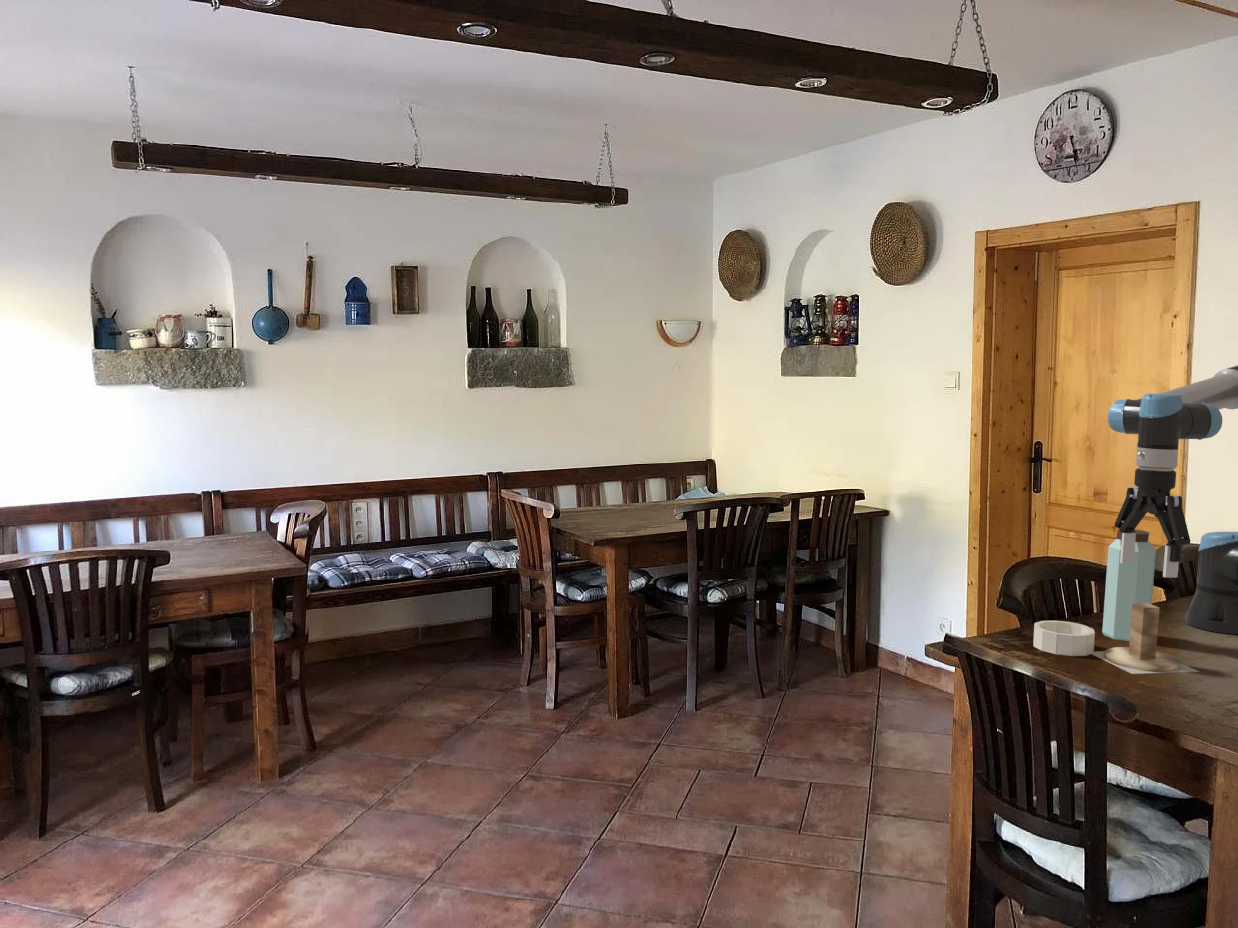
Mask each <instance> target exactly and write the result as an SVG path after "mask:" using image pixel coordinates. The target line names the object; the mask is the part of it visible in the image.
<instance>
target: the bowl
mask: <svg viewBox="0 0 1238 928" xmlns="http://www.w3.org/2000/svg"><path fill="white" fill-rule="evenodd" d="M1095 635H1096V632H1095V629H1094V628H1093V627H1090V626H1087V625H1085V624H1081V623H1077V622H1072V621H1065V620H1063V621H1062V620H1040V621H1038V622H1037V621H1036V622H1034V625H1033V647H1034V648H1036V649H1038V650H1039V651H1042V652H1046V653H1050V654H1053V655H1058V656H1059V655H1060V656H1069V657H1087V656H1089V655H1092V653H1094V652H1095V651H1094V650H1095V637H1096V636H1095Z"/></svg>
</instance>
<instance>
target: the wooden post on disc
mask: <svg viewBox="0 0 1238 928" xmlns="http://www.w3.org/2000/svg"><path fill="white" fill-rule="evenodd" d="M1159 619H1160V607H1158V606H1157V605H1153V604H1152V605H1151V604H1148V603H1140V604H1132V616H1131V629H1130V642H1128V643H1129V645H1128V646H1117V647H1116V646H1115V647H1111V648H1107V649H1106V650H1104V651H1105V658H1106V659H1107V660H1108V661H1110V662H1112V663H1114V664H1117V665H1119V666H1123V667H1127V668H1131V669H1136V670H1143V671H1152V672H1169V671H1175V670H1177V669H1179V667H1180V663H1181V662H1180V659H1178V658H1177V657H1176V656H1173V655H1171V654H1169V653H1165V652H1162V651H1158V650H1157V643H1158V634H1159V633H1158V631H1159V621H1160V620H1159Z"/></svg>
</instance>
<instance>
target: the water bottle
mask: <svg viewBox="0 0 1238 928" xmlns="http://www.w3.org/2000/svg"><path fill="white" fill-rule="evenodd" d="M1135 531H1136V532H1131V533H1136V539H1135V552H1134V563H1120V555H1121V532H1120V529H1119V528H1118V529H1117V532H1116V539H1114V541H1113V542H1112V543H1111V544H1109V545H1108V546H1107V547H1108V550H1107V561H1106V563H1107V564H1106V574H1105V575H1106V576H1105V589H1104V590H1105V592H1104V602H1103V605H1104V606H1103V616H1102V617H1103V619H1102V629H1101V632H1102V634H1103V635H1104V636H1105V637H1108V638H1110V639H1112V640H1117V641H1122V642H1123V641H1124V642H1128V643H1129V642H1130V629H1131V616H1132V604H1140V603H1148V604H1151V605H1153V594H1154V593H1153V591H1154V581H1155V580H1154V579H1155V577H1154V576H1155V567H1156V554H1157V549H1156V547H1155V546H1154V545H1153V544H1152V543H1151V542H1150V540H1149V539H1150V538H1149V536H1150V531H1146V530H1145V531H1144V530H1142V529H1135Z"/></svg>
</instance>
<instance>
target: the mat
mask: <svg viewBox="0 0 1238 928" xmlns="http://www.w3.org/2000/svg"><path fill="white" fill-rule="evenodd" d="M1105 651H1106V650H1102V651H1094V653H1092V654H1091V655H1092V656H1094V657H1096V658H1098V659H1101V660H1103V661H1105V662H1107V663H1109V664H1111V665H1113V666H1115V667H1117V668H1119V669H1121V670H1122V671H1126V672H1127V673H1129V674H1132V675H1138V674H1139V675H1140V674H1141V675H1142V674H1143V675H1144V674H1171V673H1174V674H1175V673H1199V672H1200V671H1199V670H1196V669H1195V668H1192V667H1190V666H1188V665H1186V664H1183V663H1181V662H1180V667H1179V669H1177V670H1175V671H1169V672H1152V671H1143V670H1136V669H1131V668H1127V667H1123V666H1119V665H1117V664H1114V663H1112V662H1110V661H1108V660H1107V659H1106V658H1105Z"/></svg>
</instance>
